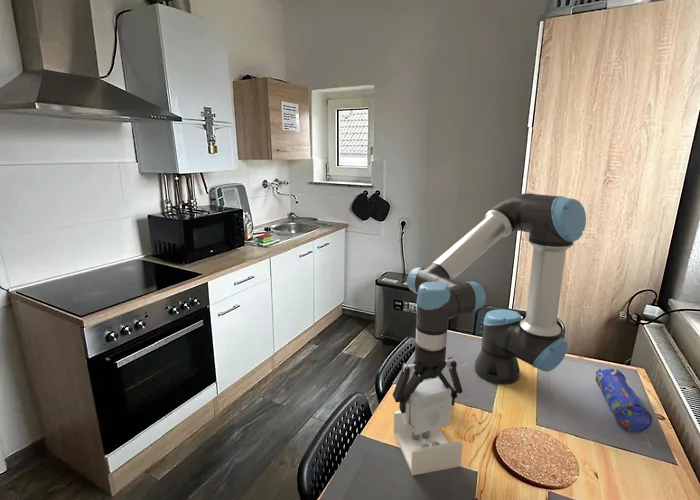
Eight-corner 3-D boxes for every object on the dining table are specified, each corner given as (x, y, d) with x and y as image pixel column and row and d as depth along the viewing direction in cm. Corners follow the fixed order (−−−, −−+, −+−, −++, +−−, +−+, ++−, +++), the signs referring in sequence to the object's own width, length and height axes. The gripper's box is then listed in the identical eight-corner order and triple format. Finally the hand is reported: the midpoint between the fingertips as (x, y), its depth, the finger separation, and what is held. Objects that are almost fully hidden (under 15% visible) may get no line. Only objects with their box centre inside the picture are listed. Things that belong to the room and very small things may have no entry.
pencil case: (592, 386, 128) (596, 361, 125) (621, 390, 126) (626, 365, 123) (615, 432, 108) (621, 403, 105) (650, 438, 105) (657, 409, 103)
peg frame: (435, 425, 111) (437, 404, 109) (460, 466, 97) (462, 443, 95) (393, 432, 108) (393, 411, 106) (412, 475, 94) (413, 452, 92)
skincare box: (436, 409, 105) (438, 376, 102) (450, 425, 99) (452, 390, 96) (402, 418, 101) (404, 384, 98) (414, 435, 95) (416, 399, 93)
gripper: (466, 332, 100) (460, 403, 106) (381, 341, 95) (379, 415, 101) (481, 346, 93) (474, 421, 98) (390, 357, 88) (388, 435, 94)
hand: (426, 418), depth 100 cm, fingers closed on skincare box, 11 cm apart
